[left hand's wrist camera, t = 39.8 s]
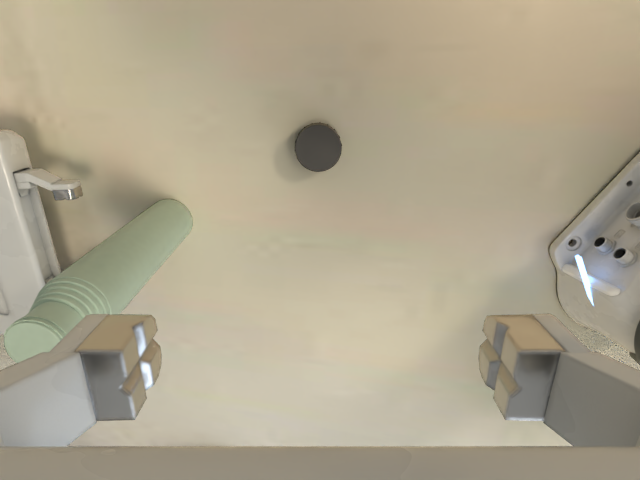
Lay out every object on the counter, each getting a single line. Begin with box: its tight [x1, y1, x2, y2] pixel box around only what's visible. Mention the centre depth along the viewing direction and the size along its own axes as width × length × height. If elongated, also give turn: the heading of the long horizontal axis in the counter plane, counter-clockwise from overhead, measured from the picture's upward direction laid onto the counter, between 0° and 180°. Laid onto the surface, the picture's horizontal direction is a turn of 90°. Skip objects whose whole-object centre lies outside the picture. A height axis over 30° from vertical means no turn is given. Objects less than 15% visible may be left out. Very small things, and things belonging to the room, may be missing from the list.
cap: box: [295, 123, 342, 172], centre depth 41 cm, size 4×5×2 cm
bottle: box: [4, 199, 193, 363], centre depth 34 cm, size 5×5×23 cm
